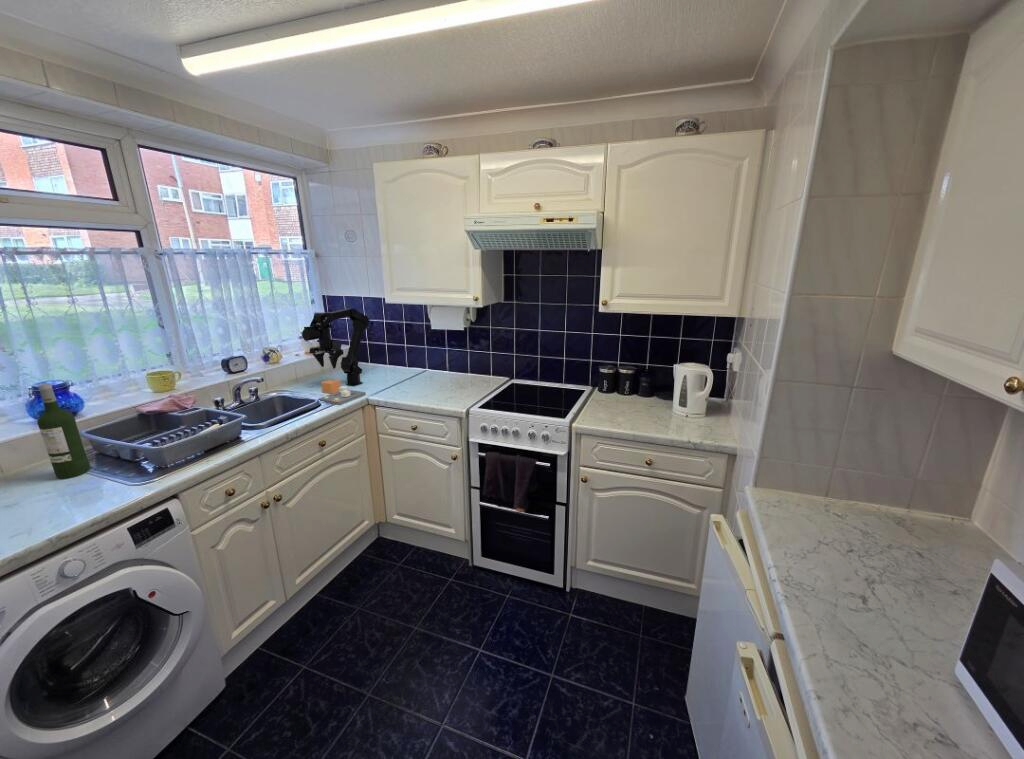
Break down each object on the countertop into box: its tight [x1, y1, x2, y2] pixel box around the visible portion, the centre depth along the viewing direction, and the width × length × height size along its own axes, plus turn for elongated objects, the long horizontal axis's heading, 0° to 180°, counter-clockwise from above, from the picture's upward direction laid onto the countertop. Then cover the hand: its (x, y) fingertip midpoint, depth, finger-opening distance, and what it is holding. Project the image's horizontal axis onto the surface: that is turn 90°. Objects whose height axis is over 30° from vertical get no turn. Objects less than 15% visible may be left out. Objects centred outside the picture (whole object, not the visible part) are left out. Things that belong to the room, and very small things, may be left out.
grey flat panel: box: [317, 389, 367, 406], centre depth 206 cm, size 17×14×2 cm
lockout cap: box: [320, 379, 342, 395], centre depth 216 cm, size 6×6×6 cm
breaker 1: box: [339, 385, 349, 392], centre depth 210 cm, size 3×3×2 cm
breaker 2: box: [341, 390, 351, 397], centre depth 203 cm, size 3×3×2 cm
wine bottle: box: [36, 383, 91, 480], centre depth 130 cm, size 8×8×30 cm
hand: (328, 367), depth 214 cm, fingers open, 8 cm apart
